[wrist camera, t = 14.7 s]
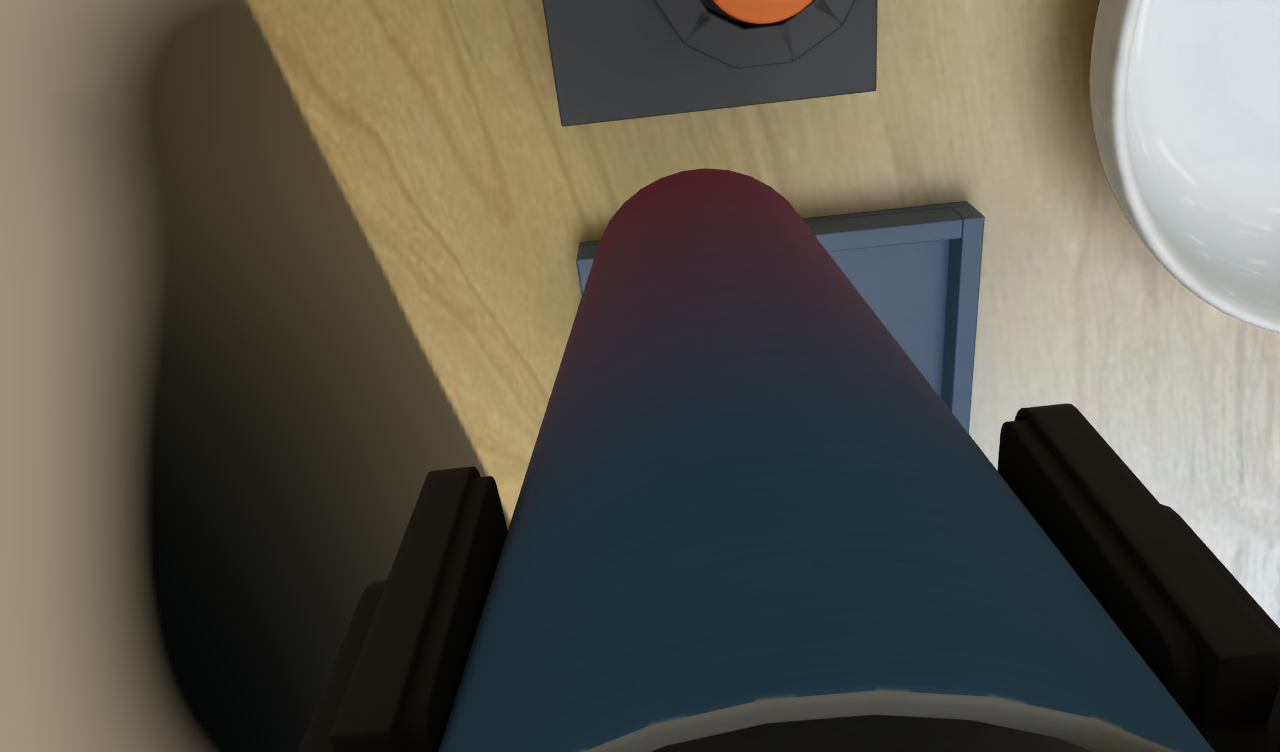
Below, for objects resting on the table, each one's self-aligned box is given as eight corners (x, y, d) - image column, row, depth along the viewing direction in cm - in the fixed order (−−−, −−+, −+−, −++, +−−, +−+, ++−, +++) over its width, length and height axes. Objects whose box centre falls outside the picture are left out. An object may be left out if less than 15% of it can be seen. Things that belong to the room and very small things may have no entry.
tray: (625, 544, 43) (624, 571, 41) (579, 242, 36) (575, 259, 34) (947, 516, 42) (960, 542, 40) (967, 200, 35) (985, 216, 33)
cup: (562, 411, 21) (437, 1217, 8) (542, 128, 18) (284, 700, 5) (841, 406, 21) (1169, 1212, 8) (870, 121, 18) (1484, 684, 5)
